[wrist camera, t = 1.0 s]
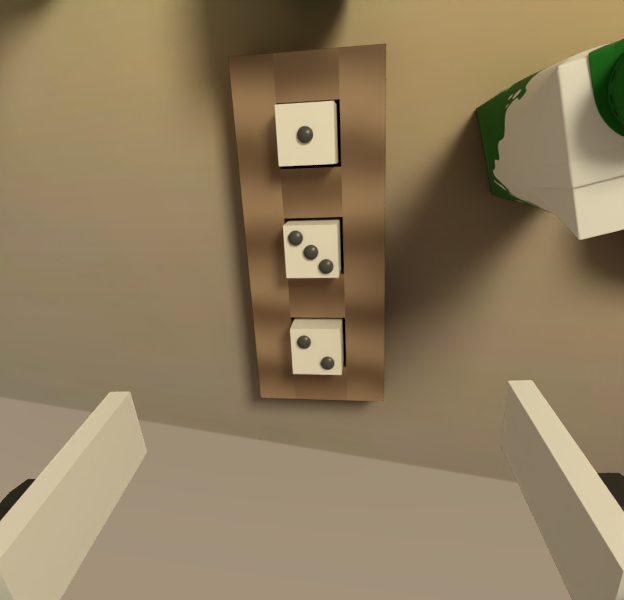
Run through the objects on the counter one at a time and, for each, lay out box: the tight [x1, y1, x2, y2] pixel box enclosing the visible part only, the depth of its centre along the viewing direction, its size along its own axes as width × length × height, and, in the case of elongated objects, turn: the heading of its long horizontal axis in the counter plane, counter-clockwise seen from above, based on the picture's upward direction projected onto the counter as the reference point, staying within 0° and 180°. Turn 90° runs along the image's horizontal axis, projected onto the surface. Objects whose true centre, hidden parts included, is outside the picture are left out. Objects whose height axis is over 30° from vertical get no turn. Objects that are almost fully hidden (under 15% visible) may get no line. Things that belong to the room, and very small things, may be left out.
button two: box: [290, 317, 344, 375], centre depth 41 cm, size 4×4×4 cm
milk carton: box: [476, 39, 624, 240], centre depth 26 cm, size 9×9×20 cm
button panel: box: [228, 44, 386, 401], centre depth 39 cm, size 30×12×3 cm, turn 3°
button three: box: [283, 218, 342, 278], centre depth 38 cm, size 4×4×4 cm
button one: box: [275, 101, 339, 166], centre depth 35 cm, size 4×4×4 cm
